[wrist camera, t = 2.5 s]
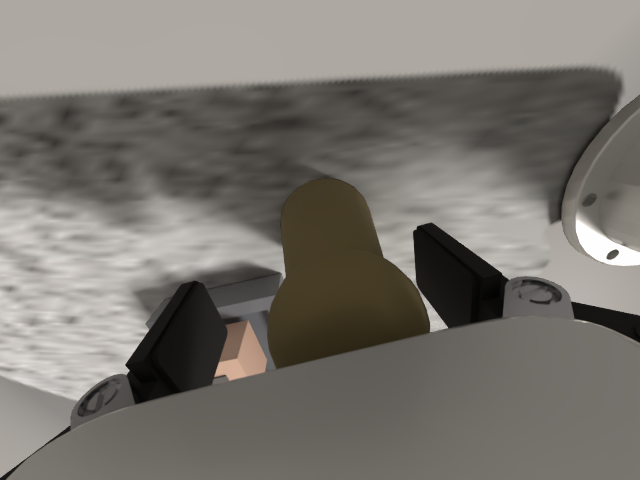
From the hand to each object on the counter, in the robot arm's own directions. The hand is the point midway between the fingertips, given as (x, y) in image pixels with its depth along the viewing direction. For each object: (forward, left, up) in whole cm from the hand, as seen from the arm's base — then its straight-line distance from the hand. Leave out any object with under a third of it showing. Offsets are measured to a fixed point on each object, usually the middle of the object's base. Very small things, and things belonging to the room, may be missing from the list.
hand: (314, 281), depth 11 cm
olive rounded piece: (-1, 0, -7) cm, 7 cm away
